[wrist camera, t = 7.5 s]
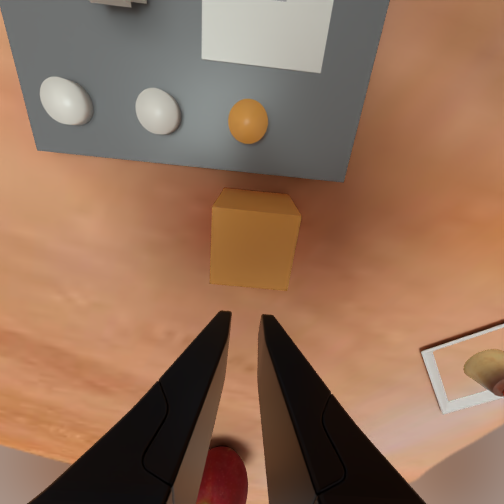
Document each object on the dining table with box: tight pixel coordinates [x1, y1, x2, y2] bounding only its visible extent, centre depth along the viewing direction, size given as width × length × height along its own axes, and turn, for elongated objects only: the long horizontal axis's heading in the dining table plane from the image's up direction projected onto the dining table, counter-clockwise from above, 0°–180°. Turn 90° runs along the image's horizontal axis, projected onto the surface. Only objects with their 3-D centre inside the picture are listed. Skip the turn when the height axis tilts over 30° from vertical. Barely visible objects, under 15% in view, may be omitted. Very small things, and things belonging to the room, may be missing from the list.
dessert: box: [421, 324, 504, 414], centre depth 25 cm, size 12×12×5 cm
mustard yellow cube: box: [210, 188, 302, 291], centre depth 17 cm, size 5×5×6 cm
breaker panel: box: [0, 0, 390, 182], centre depth 14 cm, size 21×14×2 cm, turn 84°
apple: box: [196, 446, 248, 504], centre depth 30 cm, size 8×8×8 cm
